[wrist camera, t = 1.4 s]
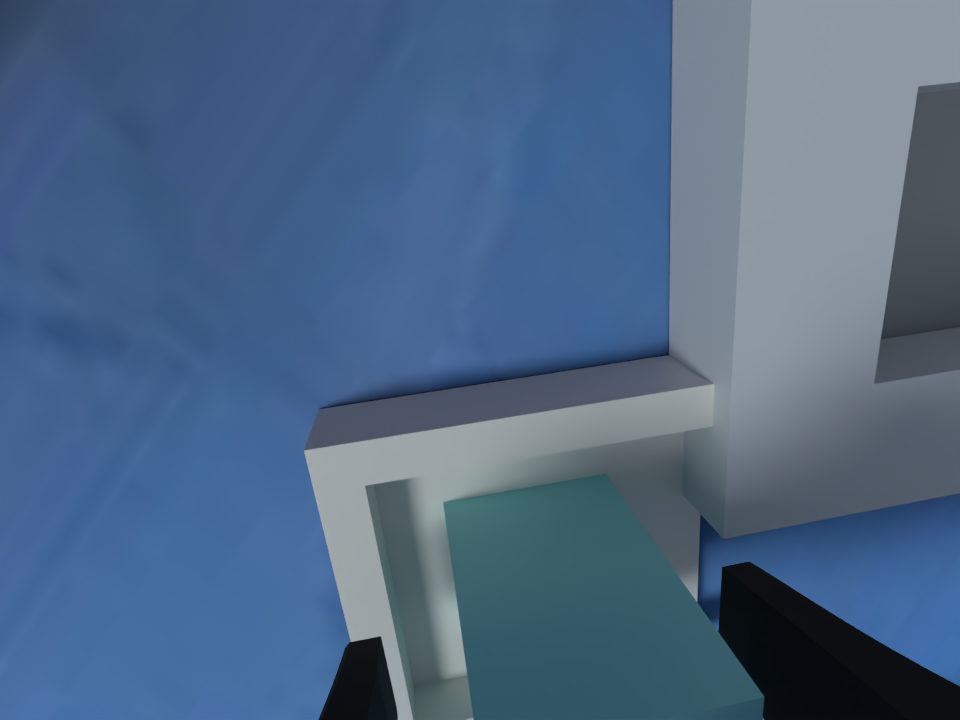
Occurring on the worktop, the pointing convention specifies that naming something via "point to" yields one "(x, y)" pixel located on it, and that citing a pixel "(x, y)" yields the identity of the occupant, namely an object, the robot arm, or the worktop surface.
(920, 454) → the port
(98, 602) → the worktop surface
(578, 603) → the plug
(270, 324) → the worktop surface
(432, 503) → the white square tray
